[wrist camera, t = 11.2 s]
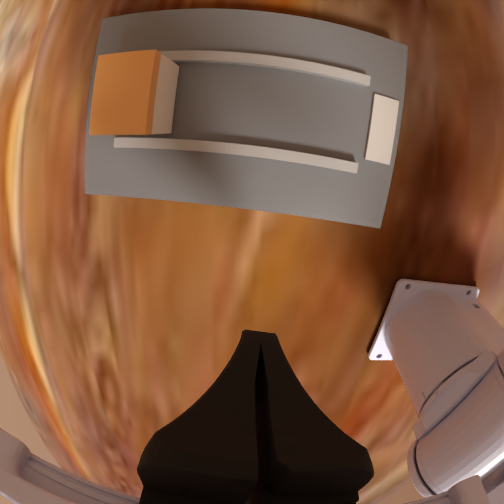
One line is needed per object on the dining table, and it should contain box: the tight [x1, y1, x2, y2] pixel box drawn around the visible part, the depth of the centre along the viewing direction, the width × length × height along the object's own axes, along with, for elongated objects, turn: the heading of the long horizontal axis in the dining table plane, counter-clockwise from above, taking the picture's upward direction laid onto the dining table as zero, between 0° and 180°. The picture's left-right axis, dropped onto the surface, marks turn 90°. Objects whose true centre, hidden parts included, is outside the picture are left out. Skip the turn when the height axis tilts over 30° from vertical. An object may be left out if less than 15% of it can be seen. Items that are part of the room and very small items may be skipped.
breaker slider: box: [89, 49, 179, 135], centre depth 13 cm, size 3×4×4 cm
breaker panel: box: [85, 8, 408, 229], centre depth 15 cm, size 19×12×3 cm, turn 83°
